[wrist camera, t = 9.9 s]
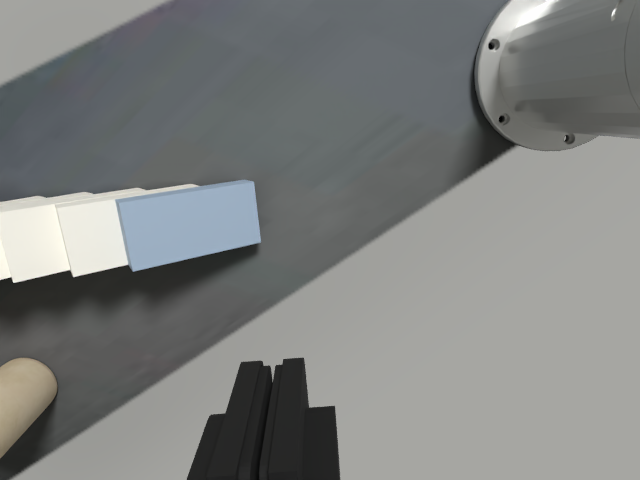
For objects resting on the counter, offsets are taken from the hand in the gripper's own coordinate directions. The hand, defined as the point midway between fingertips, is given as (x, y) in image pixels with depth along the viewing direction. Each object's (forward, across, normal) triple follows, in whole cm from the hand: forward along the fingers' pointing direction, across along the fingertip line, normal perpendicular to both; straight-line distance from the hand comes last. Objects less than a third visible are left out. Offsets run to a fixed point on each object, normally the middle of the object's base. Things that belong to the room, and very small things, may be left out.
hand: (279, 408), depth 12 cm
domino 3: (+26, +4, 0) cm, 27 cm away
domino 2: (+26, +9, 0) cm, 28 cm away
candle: (+27, +27, +15) cm, 41 cm away
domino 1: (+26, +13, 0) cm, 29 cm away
